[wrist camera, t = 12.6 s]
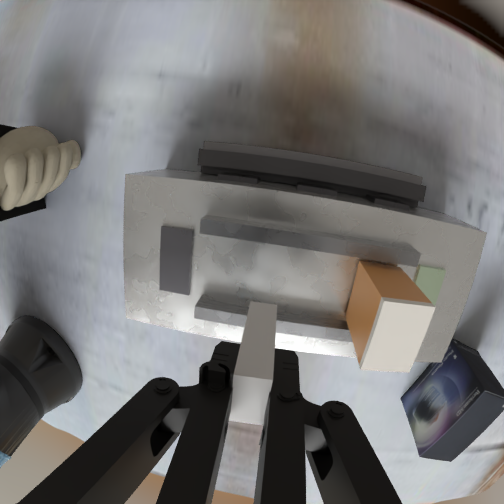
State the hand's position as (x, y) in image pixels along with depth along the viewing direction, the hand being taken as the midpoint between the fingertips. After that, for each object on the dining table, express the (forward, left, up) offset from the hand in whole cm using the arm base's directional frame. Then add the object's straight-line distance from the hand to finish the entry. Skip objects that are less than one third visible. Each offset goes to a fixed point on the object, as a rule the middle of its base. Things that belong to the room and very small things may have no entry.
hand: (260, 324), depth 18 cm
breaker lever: (+8, +1, -5) cm, 9 cm away
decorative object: (-25, +7, -14) cm, 30 cm away
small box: (+24, -13, -14) cm, 30 cm away
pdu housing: (+3, +1, -13) cm, 13 cm away
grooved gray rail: (+3, +8, -13) cm, 16 cm away
